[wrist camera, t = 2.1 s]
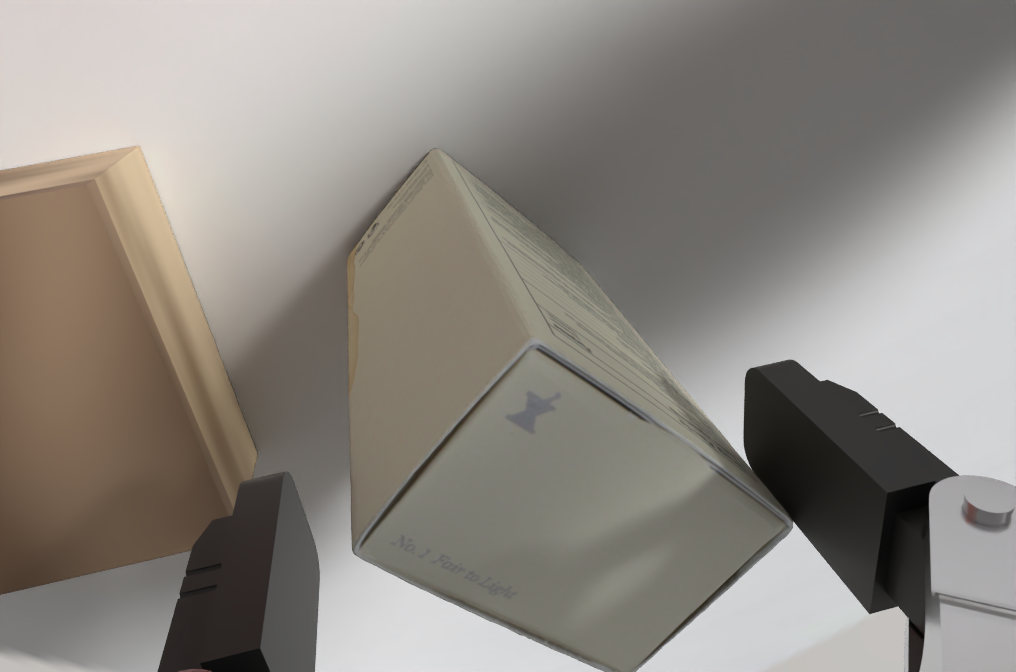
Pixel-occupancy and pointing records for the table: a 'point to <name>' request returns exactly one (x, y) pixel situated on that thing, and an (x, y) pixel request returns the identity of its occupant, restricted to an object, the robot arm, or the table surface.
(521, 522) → the skincare box
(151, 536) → the pedestal
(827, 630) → the table surface
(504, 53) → the table surface
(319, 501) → the table surface
